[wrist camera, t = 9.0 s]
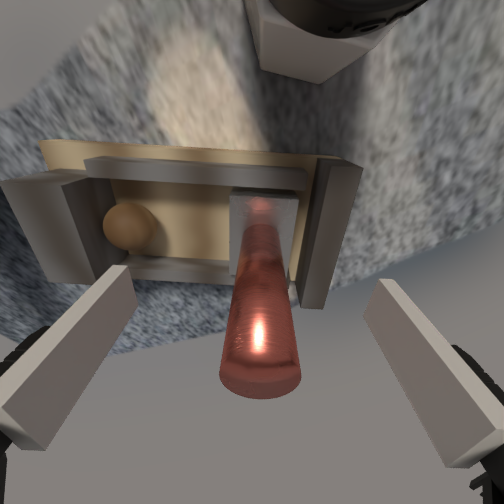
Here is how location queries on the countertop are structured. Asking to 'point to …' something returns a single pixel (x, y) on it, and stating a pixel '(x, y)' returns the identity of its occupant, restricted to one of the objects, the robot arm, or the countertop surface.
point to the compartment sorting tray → (177, 210)
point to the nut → (130, 226)
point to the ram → (260, 295)
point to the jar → (320, 33)
